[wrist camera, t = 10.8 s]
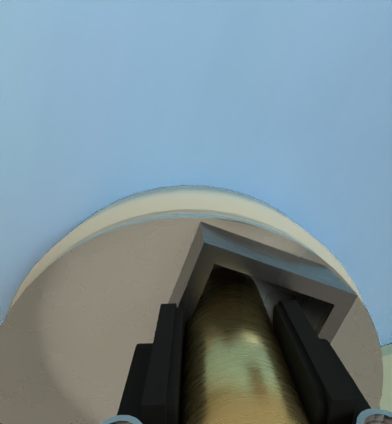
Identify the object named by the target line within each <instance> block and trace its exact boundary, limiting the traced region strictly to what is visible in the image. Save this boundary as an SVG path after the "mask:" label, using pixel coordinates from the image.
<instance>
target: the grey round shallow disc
mask: <svg viewBox="0 0 392 424" xmlns="http://www.w3.org/2000/svg"><path fill="white" fill-rule="evenodd" d="M216 268H228V269H231V270H234V271H237V272H240V273H243V274H246V275H248V276H249V277H251V278H252V279H253V281H254V282H255V283H256V285H257V287H258V289H259V292H260V294H261V297H262V300H263V302H264V305H265V307H266V310H267V313H268V315H269V318H270V320H271V323H272V321H273V306H274V305H278V303H279V301H280V300H296V301H297V303H298V304H299V306H300V308H301V309H302V311H303V313H304V314H305V316H306V317H307V319H308V321H309V322H310V324H311V326H312V327H313V329H314V331H315V332H316V334H317V336H318V337H319V339H326V340H327V341H328V342H329V343H330V344H331V346H332V348H333V349H334V351H335V352H336V354H337V355H338V357H339V358H340V360H341V362H342V363H343V365H344V366H345V368H346V369H347V371H348V373H349V374H350V376H351V377H352V379H353V380H354V382H355V383H356V385H357V387H358V388H359V390H360V391H361V393H362V394H363V396H364V398H365V399H366V401H367V402H368V404H369V405H370V407H371V408H372V409H374V408H377V409H378V408H379V404H380V400H381V396H382V387H383V375H384V374H383V360H382V352H381V347H380V343H379V339H378V335H377V332H376V329H375V327H374V325H373V322H372V320H371V317H370V315H369V313H368V311H367V309H366V308H365V306H364V305H363V303H362V301H361V300H360V298H359V297H358V295H357V293H356V292H355V291H354V290H353V289H352V287H351V286H350V285H349V284H348V283H347V282H346V281H345V279H344V278H343V277H342V276H341V275H340V274H339V273H338V272H337V271H336V270H335V269H334V268H333V267H331V266H330V265H329V264H328V263H327V262H326V261H325V260H324V259H322V258H321V257H320V256H319V255H318V254H316V253H315V252H314V251H313V250H312V249H310V248H309V247H308V246H307V245H306V244H304V243H302V242H301V241H299V240H298V239H296V238H294V237H293V236H291V235H290V234H288V233H286V232H285V231H282V230H280V229H278V228H276V227H273V226H271V225H269V224H267V223H265V222H262V221H259V220H256V219H252V218H249V217H245V216H242V215H239V214H234V213H227V212H221V211H215V210H199V209H179V210H169V211H159V212H153V213H148V214H144V215H140V216H135V217H131V218H128V219H125V220H122V221H120V222H117V223H114V224H112V225H109V226H106V227H104V228H102V229H100V230H98V231H96V232H94V233H93V234H91V235H89V236H87V237H85V238H83V239H81V240H80V241H79V242H77V243H76V244H74V245H73V246H72V247H70V248H69V249H67V250H66V251H65V252H63V253H62V254H61V255H60V256H59V257H57V258H56V259H55V260H54V261H53V262H52V263H51V264H50V265H49V266H48V267H47V268H46V269H45V270H44V271H43V272H42V273H41V274H40V275H39V276H38V277H37V278H36V279H34V280H33V281H32V282H31V283H30V284H29V285H28V286H27V287H26V289H25V290H24V291H23V293H22V294H21V295H20V297H19V298H18V299H17V300H16V302H15V303H14V304H13V306H12V307H11V309H10V311H9V313H8V314H7V316H6V318H5V320H4V322H3V324H2V326H1V328H0V424H100V423H101V422H103V421H105V420H107V419H109V418H110V417H114V416H117V413H118V409H119V406H120V402H121V398H122V395H123V391H124V387H125V384H126V380H127V377H128V373H129V369H130V366H131V362H132V358H133V355H134V351H135V348H136V345H137V344H140V343H153V341H154V336H155V331H156V326H157V321H158V316H159V310H160V305H161V304H168V303H176V305H177V307H182V311H183V333H184V347H185V332H186V328H187V326H188V323H189V321H190V320H191V318H192V315H193V313H194V311H195V308H196V306H197V304H198V301H199V299H200V297H201V294H202V292H203V290H204V287H205V285H206V283H207V280H208V278H209V276H210V273H211V271H212V269H216Z"/></svg>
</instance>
